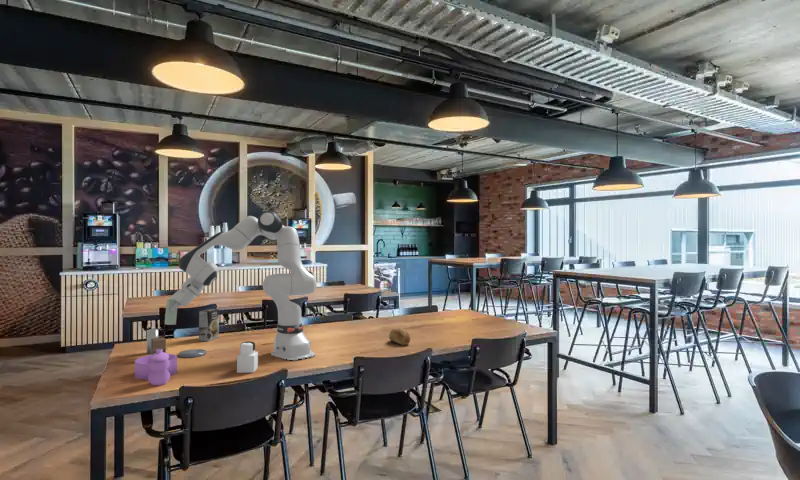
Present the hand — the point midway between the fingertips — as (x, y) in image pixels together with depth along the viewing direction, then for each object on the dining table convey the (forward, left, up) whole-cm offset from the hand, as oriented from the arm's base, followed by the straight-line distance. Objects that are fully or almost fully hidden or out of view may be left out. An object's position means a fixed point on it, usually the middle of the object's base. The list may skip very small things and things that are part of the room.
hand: (168, 310), depth 211 cm
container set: (-35, +12, -21) cm, 43 cm away
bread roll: (-53, -101, -21) cm, 116 cm away
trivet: (-9, -8, -21) cm, 24 cm away
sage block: (0, -1, -7) cm, 7 cm away
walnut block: (-6, +6, -21) cm, 22 cm away
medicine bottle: (-49, -19, -21) cm, 57 cm away
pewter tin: (+6, +6, -21) cm, 23 cm away
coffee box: (+18, -24, -21) cm, 37 cm away
